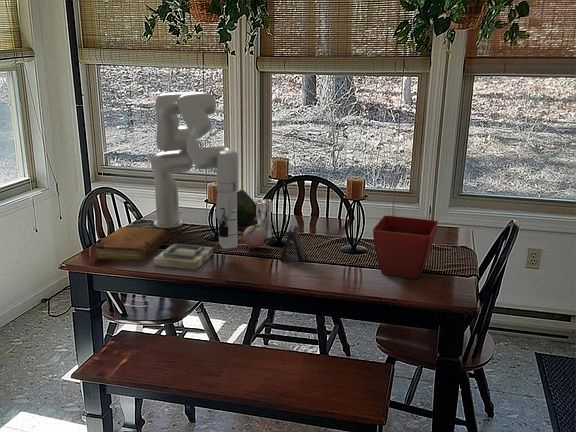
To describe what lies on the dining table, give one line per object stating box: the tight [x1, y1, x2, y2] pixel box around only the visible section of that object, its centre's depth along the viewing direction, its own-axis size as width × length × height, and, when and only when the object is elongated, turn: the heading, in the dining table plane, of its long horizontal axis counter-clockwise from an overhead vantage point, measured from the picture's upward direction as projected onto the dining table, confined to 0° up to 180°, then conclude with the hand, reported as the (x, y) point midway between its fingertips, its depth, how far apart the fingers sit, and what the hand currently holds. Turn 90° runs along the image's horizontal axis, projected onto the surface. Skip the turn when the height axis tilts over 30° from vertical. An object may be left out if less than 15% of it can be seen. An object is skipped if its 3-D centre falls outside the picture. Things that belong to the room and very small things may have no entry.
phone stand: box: [278, 225, 307, 263], centre depth 212 cm, size 9×6×12 cm, turn 80°
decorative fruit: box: [242, 223, 266, 249], centre depth 222 cm, size 9×8×10 cm
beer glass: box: [255, 198, 274, 240], centre depth 235 cm, size 7×7×15 cm
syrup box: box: [218, 208, 238, 249], centre depth 209 cm, size 6×6×14 cm
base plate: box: [153, 243, 214, 270], centre depth 212 cm, size 16×16×4 cm
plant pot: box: [372, 215, 439, 280], centre depth 201 cm, size 19×19×17 cm
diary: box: [94, 226, 167, 263], centre depth 221 cm, size 23×19×6 cm
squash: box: [237, 189, 256, 227], centre depth 254 cm, size 14×15×15 cm
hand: (227, 232), depth 210 cm, fingers closed on syrup box, 8 cm apart
